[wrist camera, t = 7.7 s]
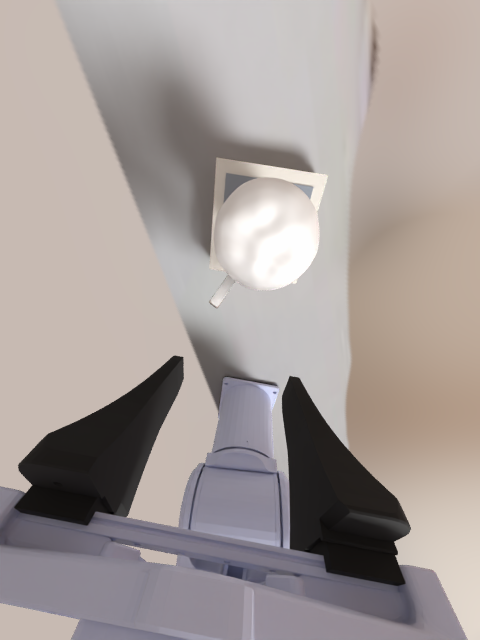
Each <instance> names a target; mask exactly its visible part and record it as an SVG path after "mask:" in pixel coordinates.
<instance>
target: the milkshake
mask: <svg viewBox="0 0 480 640" xmlns="http://www.w3.org/2000/svg"><path fill="white" fill-rule="evenodd" d="M318 246H319V221H318V215H317V212H316V209H315V207H314V205H313V204H312V202H311V200H310V199H309V198H308V196H307V195H306V194H305V193H304V192H303V191H302V190H301V189H300V188H298V187H297V186H296V185H294V184H292V183H290V182H288V181H286V180H283V179H278V178H271V177H263V178H256V179H253V180H250V181H248V182H246V183H244V184H242V185H241V186H239V187H238V188H237V189H236V190H235V191H234V192H233V193H232V194H231V195H230V196H229V197H228V198H227V200H226V201H225V202H224V204H223V205H222V207H221V208H220V210H219V212H218V214H217V217H216V221H215V227H214V247H215V253H216V256H217V259H218V261H219V263H220V265H221V266H222V268H223V269H224V270H225V272H226V273H227V274H228V276H227V277H226V278H225V280H224V281H223V283H222V284H221V285H220V287H219V288H218V290H217V291H216V292H215V294H214V295H213V296H212V298H211V299H210V301H209V303H210V304H211V305H213V306H214V307H215V308H218V307H219V306H220V304H221V303H222V301H223V300H224V298H225V297H226V295H227V294H228V292H229V291H230V289H231V288H232V286H233V284H234V283H235V281H236V282H237V283H239V284H240V285H242V286H244V287H246V288H249V289H252V290H258V291H267V290H274V289H278V288H282V287H284V286H286V285H288V284H290V283H291V282H293V281H294V280H295V279H297V278H298V277H299V276H300V275H301V274H303V273H304V272H305V271H306V269H307V268H308V267H309V266H310V264H311V263H312V261H313V259H314V257H315V255H316V253H317V250H318Z"/></svg>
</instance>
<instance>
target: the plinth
mask: <svg viewBox="0 0 480 640" xmlns="http://www.w3.org/2000/svg"><path fill="white" fill-rule="evenodd" d="M263 177H271V178H278V179H283V180H286V181H288V182H290V183H292V184H294V185H296V186H297V187H298V188H300V189H301V190H302V191H303V192H304V193H305V194H306V195H307V196H308V198H309V199H310V200H311V202H312V204H313V205H314V207H315V209H316V212H318V208H319V205H320V202H321V198H322V195H323V192H324V188H325V185H326V182H327V178H328V175H324V174H317V173H311V172H305V171H299V170H292V169H286V168H280V167H274V166H267V165H261V164H255V163H248V162H242V161H236V160H230V159H223V158H217V157H216V171H215V187H214V203H213V219H212V235H211V251H210V267H209V269H213V270H219V271H224V272H225V270H224V269H223V268H222V266H221V265H220V263H219V261H218V259H217V256H216V253H215V247H214V227H215V221H216V217H217V214H218V212H219V210H220V208H221V207H222V205H223V204H224V202H225V201H226V200H227V198H228V197H229V196H230V195H231V194H232V193H233V192H234V191H235V190H236V189H237V188H238V187H239V186H241V185H242V184H244V183H246V182H248V181H250V180H253V179H256V178H263ZM297 279H298V278H297ZM297 279H295V280H294V281H293V282H291V283H295V284H296V282H297Z"/></svg>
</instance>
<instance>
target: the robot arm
mask: <svg viewBox="0 0 480 640" xmlns="http://www.w3.org/2000/svg"><path fill="white" fill-rule="evenodd" d="M183 376H184V373H183V357H180V356H173V357H172V358H171V359H170V360H169V361H167V362H166V363H165V364H164V365H163V366H162V367H161V368H159V369H158V370H157V371H156V372H155V373H153V374H152V375H151V376H150V377H149V378H147V379H146V380H145V381H144V382H142V383H141V384H139V385H138V386H137V387H135V388H134V389H132V390H131V391H130V392H128V393H127V394H125V395H124V396H122V397H120V398H119V399H117V400H116V401H114V402H112V403H111V404H109V405H107V406H105V407H104V408H102V409H100V410H98V411H96V412H94V413H92V414H90V415H88V416H87V417H85V418H83V419H80V420H78V421H76V422H74V423H72V424H70V425H67V426H65V427H63V428H61V429H58V430H56V431H54V432H51V433H49V434H48V435H46V436H45V437H44V438H43V439H42V440H41V441H40V442H39V443H38V444H37V446H35V448H34V449H33V450H32V451H31V452H30V453H29V454H28V455H27V456H26V457H25V458H24V459H23V460H22V461H21V463H20V464H19V465H18V466H19V467H18V468H19V471H20V472H21V474H23V476H24V477H25V478H26V479H27V480H28V481H29V482H30V483H31V484H32V486H31V488H30V489H29V490H28V491H27V493H24V492H22V491H19V490H15V489H10V488H5V487H0V603H3V604H8V605H13V606H18V607H23V608H28V609H33V610H38V611H42V612H47V613H52V614H58V615H62V616H67V617H71V618H76V619H80V621H79V623H78V625H77V627H76V630H75V632H74V634H73V636H72V638H71V640H468V639H467V637H466V635H465V633H464V631H463V629H462V627H461V625H460V623H459V621H458V619H457V616H456V614H455V612H454V610H453V608H452V606H451V604H450V602H449V600H448V598H447V596H446V593H445V591H444V589H443V587H442V585H441V583H440V581H439V579H438V577H437V574H436V573H435V572H434V571H433V570H430V569H425V568H420V567H415V566H409V565H398V562H397V560H396V557H395V555H397V554H398V551H397V549H396V546H395V543H394V541H396V540H398V539H400V538H402V537H404V536H406V535H407V534H409V532H410V530H411V527H410V525H409V522H408V520H407V518H406V516H405V514H404V511H403V510H402V507H401V506H400V503H399V501H398V500H397V498H396V497H395V496H394V495H393V494H391V493H390V492H389V491H388V490H387V489H386V488H385V487H384V486H383V485H382V484H381V483H380V482H379V481H378V480H376V479H375V478H374V477H373V476H372V475H371V474H370V473H369V472H368V471H367V470H366V469H365V468H364V467H363V466H362V465H361V463H360V462H359V461H358V460H357V459H356V458H355V457H354V456H353V455H352V454H351V452H350V451H349V450H348V449H347V448H346V447H345V446H344V444H343V443H342V442H341V441H340V440H339V438H338V437H337V436H336V435H335V433H334V432H333V431H332V429H331V428H330V427H329V425H328V424H327V423H326V421H325V420H324V418H323V417H322V415H321V414H320V412H319V411H318V409H317V408H316V406H315V404H314V403H313V401H312V399H311V398H310V396H309V394H308V393H307V391H306V389H305V387H304V386H303V384H302V382H301V380H300V379H299V378H298V377H292V376H290V377H289V379H288V382H287V385H286V387H285V390H284V392H283V395H282V413H283V421H284V428H285V435H286V442H287V450H288V465H289V480H288V478H287V477H286V476H285V474H284V472H282V471H278V472H277V464H276V459H274V448H273V427H272V409H273V406H274V403H275V401H276V398H277V395H278V392H279V387H278V386H274V385H268V384H263V383H257V382H252V381H246V380H241V379H235V378H230V377H224V379H223V384H222V392H221V399H220V406H219V413H218V418H219V421H218V425H217V430H216V434H215V439H214V444H213V449H212V453H207V457H206V463H200V464H198V466H197V467H196V468H195V469H194V470H193V472H192V473H191V475H190V477H189V480H188V483H187V486H186V489H185V492H184V497H183V501H182V505H181V511H180V518H179V528H178V527H172V526H167V525H162V524H157V523H152V522H147V521H142V520H137V519H131V518H126V517H127V516H128V514H129V510H130V508H131V505H132V502H133V499H134V496H135V493H136V490H137V488H138V485H139V482H140V479H141V476H142V474H143V471H144V468H145V465H146V463H147V460H148V457H149V455H150V453H151V450H152V447H153V445H154V442H155V440H156V437H157V435H158V433H159V430H160V428H161V426H162V424H163V422H164V420H165V418H166V416H167V414H168V412H169V410H170V408H171V406H172V404H173V402H174V400H175V398H176V396H177V394H178V392H179V390H180V387H181V384H182V382H183V379H184V377H183ZM274 391H275V392H274ZM122 544H125V545H130V546H135V547H140V548H145V549H150V550H155V551H161V552H165V553H171V554H176V555H178V556H177V563H176V566H174V565H166V564H159V563H150V562H146V561H145V560H144V559H142V558H141V557H140V550H137V549H134V548H131V547H128V546H125V545H122Z"/></svg>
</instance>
